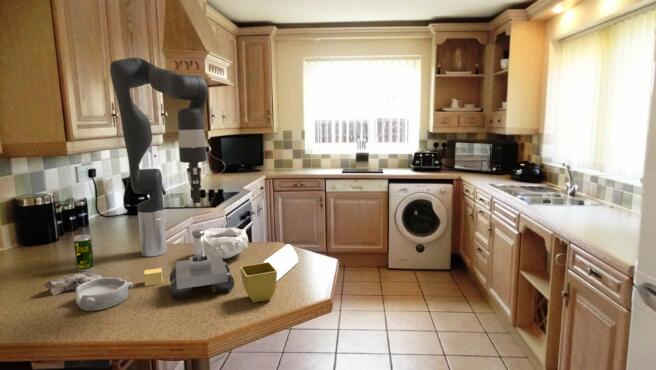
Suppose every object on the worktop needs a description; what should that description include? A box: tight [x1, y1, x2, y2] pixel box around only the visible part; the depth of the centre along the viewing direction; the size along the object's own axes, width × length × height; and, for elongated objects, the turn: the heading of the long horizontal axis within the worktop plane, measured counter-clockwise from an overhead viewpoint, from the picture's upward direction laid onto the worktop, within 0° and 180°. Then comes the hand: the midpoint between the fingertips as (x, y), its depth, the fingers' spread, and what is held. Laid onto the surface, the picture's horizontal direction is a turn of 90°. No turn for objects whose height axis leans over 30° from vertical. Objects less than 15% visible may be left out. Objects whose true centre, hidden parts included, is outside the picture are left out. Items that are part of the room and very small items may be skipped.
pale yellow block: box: [143, 267, 163, 287], centre depth 131 cm, size 4×5×4 cm
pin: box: [191, 229, 205, 261], centre depth 124 cm, size 4×4×11 cm
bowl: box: [192, 226, 250, 260], centre depth 154 cm, size 21×20×10 cm
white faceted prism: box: [262, 243, 299, 282], centre depth 139 cm, size 7×7×24 cm
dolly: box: [169, 255, 235, 301], centre depth 125 cm, size 16×18×10 cm
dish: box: [75, 276, 133, 312], centre depth 118 cm, size 14×14×5 cm
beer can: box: [73, 233, 95, 273], centre depth 143 cm, size 5×5×12 cm
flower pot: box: [239, 262, 277, 304], centre depth 117 cm, size 9×9×9 cm
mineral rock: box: [43, 272, 103, 296], centre depth 128 cm, size 15×8×4 cm, turn 119°
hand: (196, 200), depth 121 cm, fingers open, 8 cm apart
